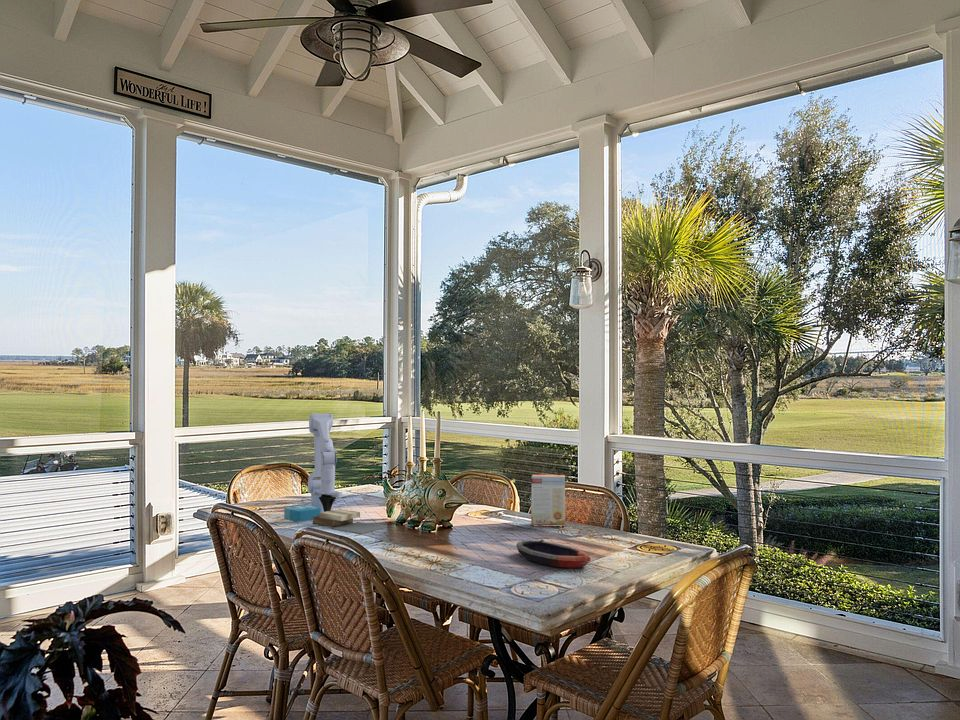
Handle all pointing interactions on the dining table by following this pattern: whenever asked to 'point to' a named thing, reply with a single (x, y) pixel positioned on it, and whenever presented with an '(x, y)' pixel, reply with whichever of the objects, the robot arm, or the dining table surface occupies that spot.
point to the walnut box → (330, 522)
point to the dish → (552, 554)
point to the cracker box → (548, 500)
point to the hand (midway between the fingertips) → (327, 513)
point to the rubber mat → (359, 527)
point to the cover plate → (339, 515)
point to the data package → (301, 512)
